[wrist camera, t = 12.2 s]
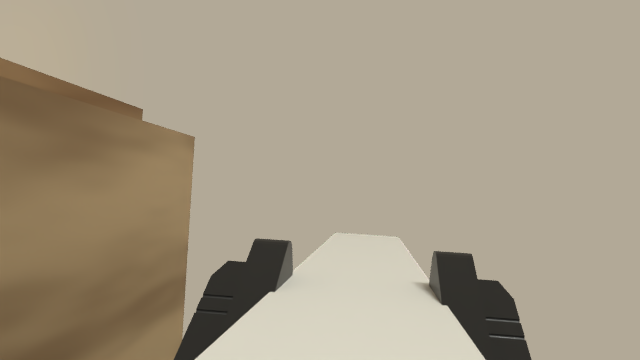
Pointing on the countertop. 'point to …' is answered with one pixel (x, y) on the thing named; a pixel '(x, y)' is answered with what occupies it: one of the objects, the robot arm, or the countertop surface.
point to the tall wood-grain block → (89, 224)
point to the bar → (349, 310)
